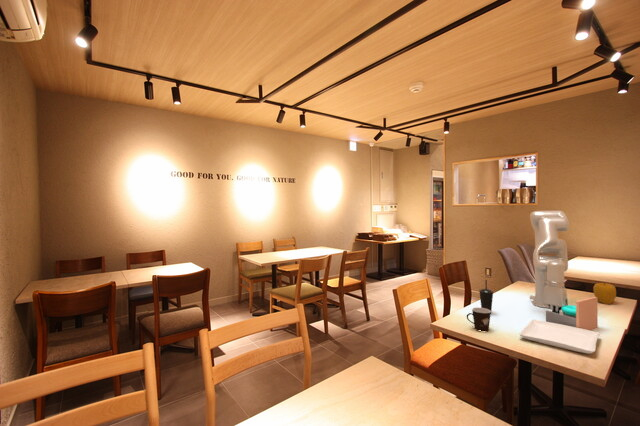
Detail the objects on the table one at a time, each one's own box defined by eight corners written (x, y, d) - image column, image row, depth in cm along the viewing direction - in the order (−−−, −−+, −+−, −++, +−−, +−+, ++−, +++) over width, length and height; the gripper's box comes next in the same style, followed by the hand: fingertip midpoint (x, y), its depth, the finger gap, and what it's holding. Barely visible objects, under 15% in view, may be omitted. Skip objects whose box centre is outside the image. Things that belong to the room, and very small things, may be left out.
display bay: (546, 323, 166) (545, 294, 166) (564, 318, 173) (564, 290, 172) (579, 334, 152) (578, 301, 152) (597, 328, 159) (597, 297, 159)
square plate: (600, 339, 147) (600, 331, 147) (594, 360, 128) (594, 351, 127) (532, 324, 166) (532, 317, 166) (518, 341, 147) (518, 332, 147)
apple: (593, 299, 206) (593, 280, 206) (616, 302, 199) (616, 282, 199) (592, 303, 198) (592, 283, 198) (616, 306, 191) (616, 285, 191)
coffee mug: (489, 327, 163) (489, 308, 163) (492, 333, 155) (492, 313, 155) (465, 324, 167) (464, 306, 167) (467, 331, 159) (466, 311, 159)
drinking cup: (493, 312, 185) (492, 279, 185) (494, 316, 178) (494, 282, 178) (478, 310, 189) (478, 278, 188) (479, 314, 182) (479, 281, 181)
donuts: (575, 311, 156) (556, 305, 166) (575, 331, 156) (556, 323, 166) (591, 309, 158) (572, 303, 167) (591, 329, 158) (572, 322, 168)
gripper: (536, 282, 174) (537, 314, 174) (566, 288, 160) (567, 323, 161) (545, 280, 177) (545, 312, 177) (575, 286, 163) (575, 321, 164)
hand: (555, 317), depth 169 cm, fingers closed
